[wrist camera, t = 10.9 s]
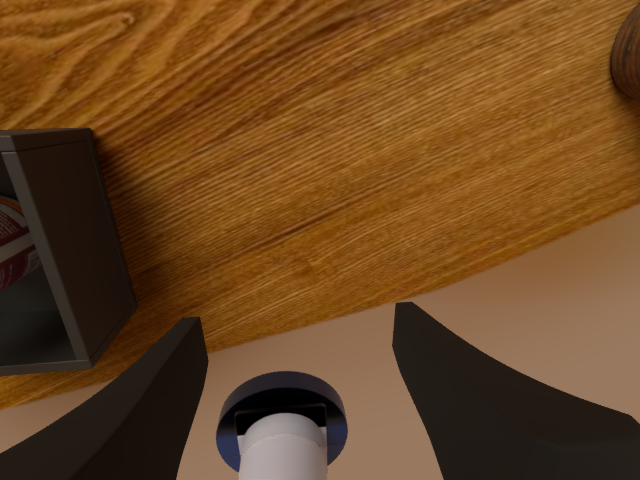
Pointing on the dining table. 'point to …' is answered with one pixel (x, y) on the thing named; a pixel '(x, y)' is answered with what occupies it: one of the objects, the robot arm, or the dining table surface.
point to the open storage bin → (61, 255)
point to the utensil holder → (628, 55)
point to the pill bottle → (15, 244)
